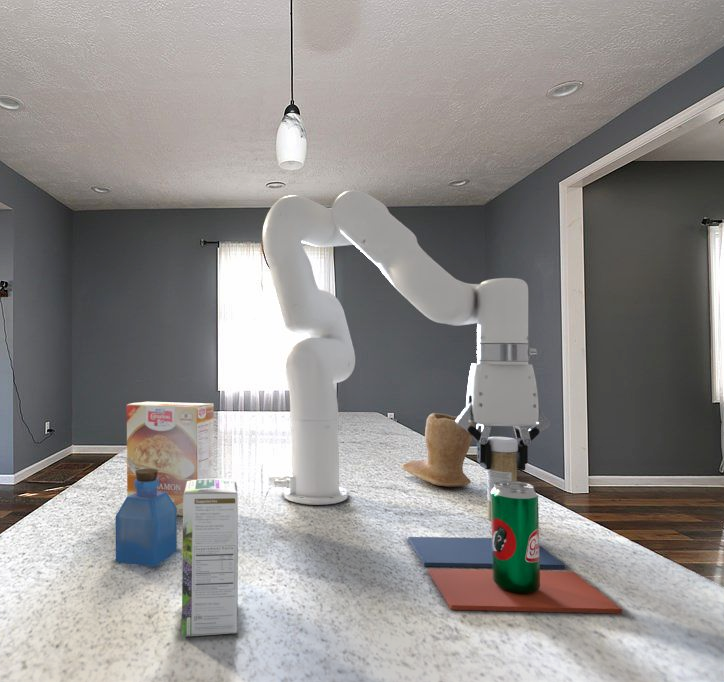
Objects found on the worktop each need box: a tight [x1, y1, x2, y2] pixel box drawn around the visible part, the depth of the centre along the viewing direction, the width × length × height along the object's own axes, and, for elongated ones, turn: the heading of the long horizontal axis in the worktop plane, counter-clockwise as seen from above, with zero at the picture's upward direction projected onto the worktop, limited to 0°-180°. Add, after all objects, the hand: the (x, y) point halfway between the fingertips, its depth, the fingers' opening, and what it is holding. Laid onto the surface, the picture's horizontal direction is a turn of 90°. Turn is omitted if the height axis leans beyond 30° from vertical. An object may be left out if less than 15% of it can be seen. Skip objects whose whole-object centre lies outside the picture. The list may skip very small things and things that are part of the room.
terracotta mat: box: [427, 568, 623, 615], centre depth 62 cm, size 18×10×1 cm, turn 86°
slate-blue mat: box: [407, 536, 566, 569], centre depth 74 cm, size 18×10×1 cm, turn 86°
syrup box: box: [181, 478, 239, 637], centre depth 56 cm, size 6×6×14 cm
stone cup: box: [401, 412, 475, 487], centre depth 116 cm, size 15×12×15 cm
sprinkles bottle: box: [486, 436, 518, 522], centre depth 85 cm, size 5×5×14 cm
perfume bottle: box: [115, 468, 178, 568], centre depth 75 cm, size 6×6×12 cm
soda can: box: [490, 480, 541, 595], centre depth 63 cm, size 5×5×12 cm
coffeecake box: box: [126, 401, 215, 517], centre depth 98 cm, size 15×7×20 cm, turn 68°
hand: (502, 466), depth 85 cm, fingers closed on sprinkles bottle, 4 cm apart
